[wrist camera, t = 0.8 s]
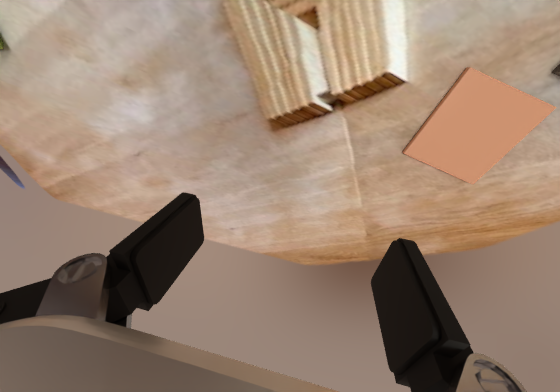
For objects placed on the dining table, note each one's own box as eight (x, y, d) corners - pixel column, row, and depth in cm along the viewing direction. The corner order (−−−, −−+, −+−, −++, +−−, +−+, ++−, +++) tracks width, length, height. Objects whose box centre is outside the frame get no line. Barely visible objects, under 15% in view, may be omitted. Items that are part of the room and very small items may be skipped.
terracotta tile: (466, 67, 27) (470, 67, 27) (550, 106, 28) (556, 107, 27) (402, 152, 34) (403, 153, 33) (470, 182, 34) (472, 184, 34)
